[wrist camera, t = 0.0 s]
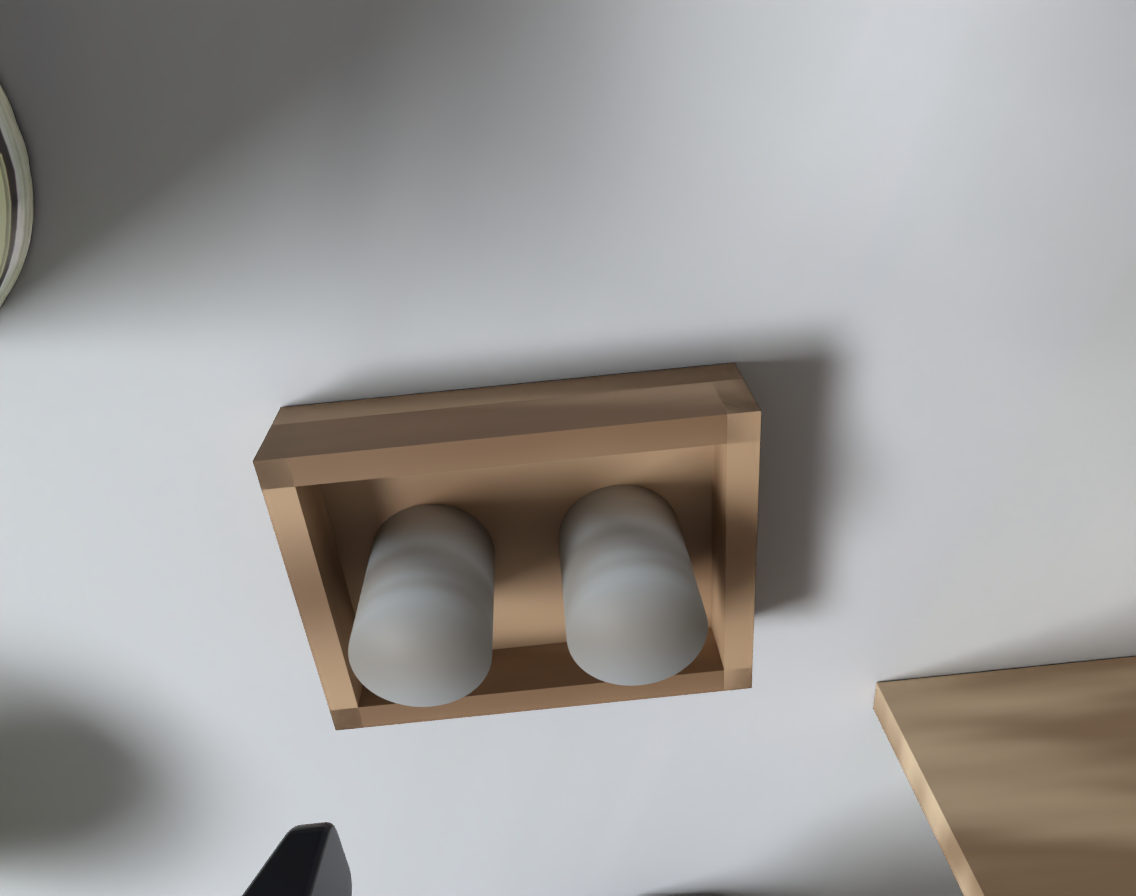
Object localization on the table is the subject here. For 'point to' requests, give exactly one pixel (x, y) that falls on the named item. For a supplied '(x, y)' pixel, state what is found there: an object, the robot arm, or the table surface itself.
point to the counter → (1024, 774)
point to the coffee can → (13, 199)
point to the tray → (521, 542)
